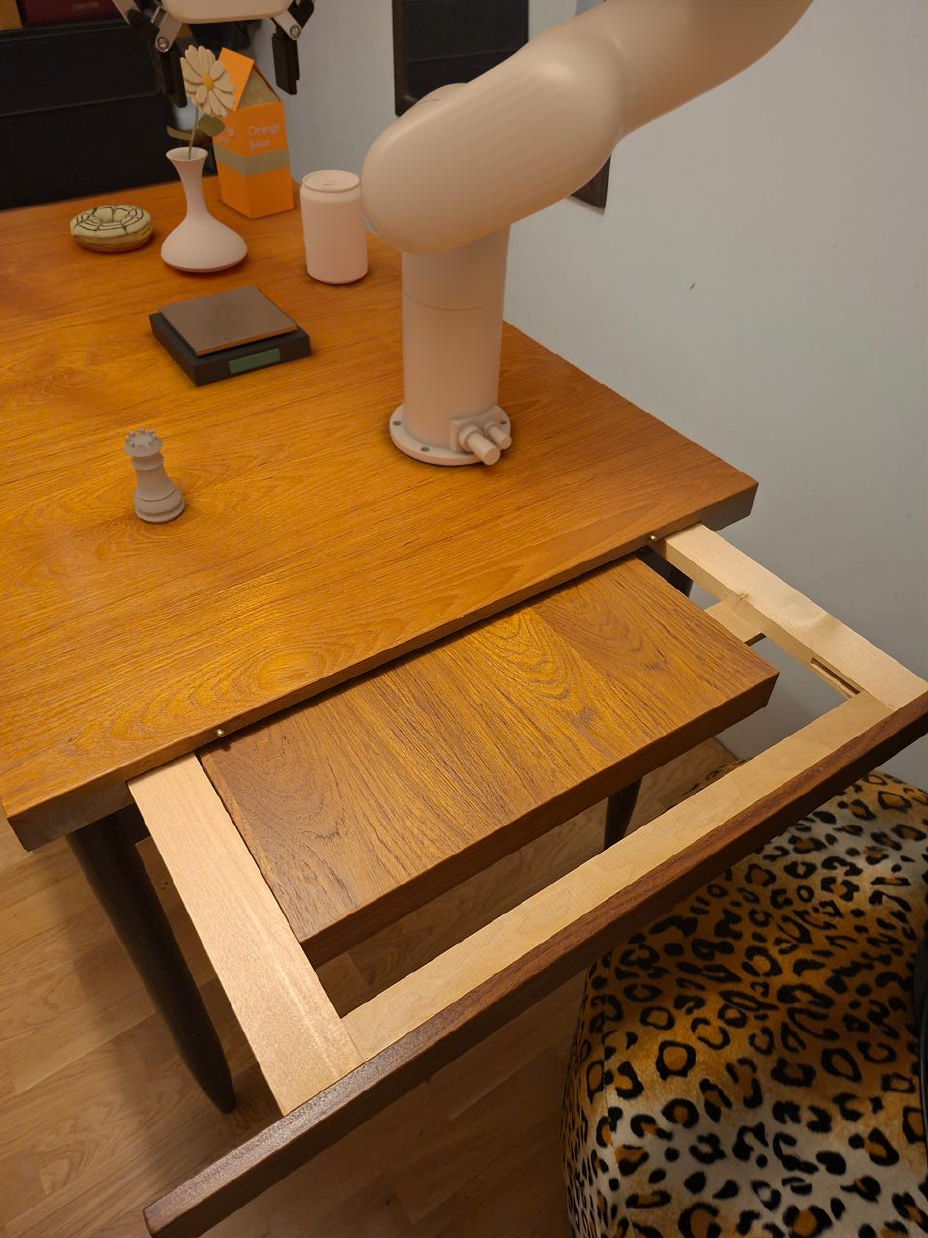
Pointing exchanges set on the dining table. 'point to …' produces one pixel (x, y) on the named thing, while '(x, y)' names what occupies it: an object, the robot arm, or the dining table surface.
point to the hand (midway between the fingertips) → (233, 96)
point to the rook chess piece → (152, 479)
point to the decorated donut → (112, 228)
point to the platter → (226, 320)
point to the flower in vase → (199, 233)
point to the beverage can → (334, 226)
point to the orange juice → (253, 144)
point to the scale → (230, 353)
